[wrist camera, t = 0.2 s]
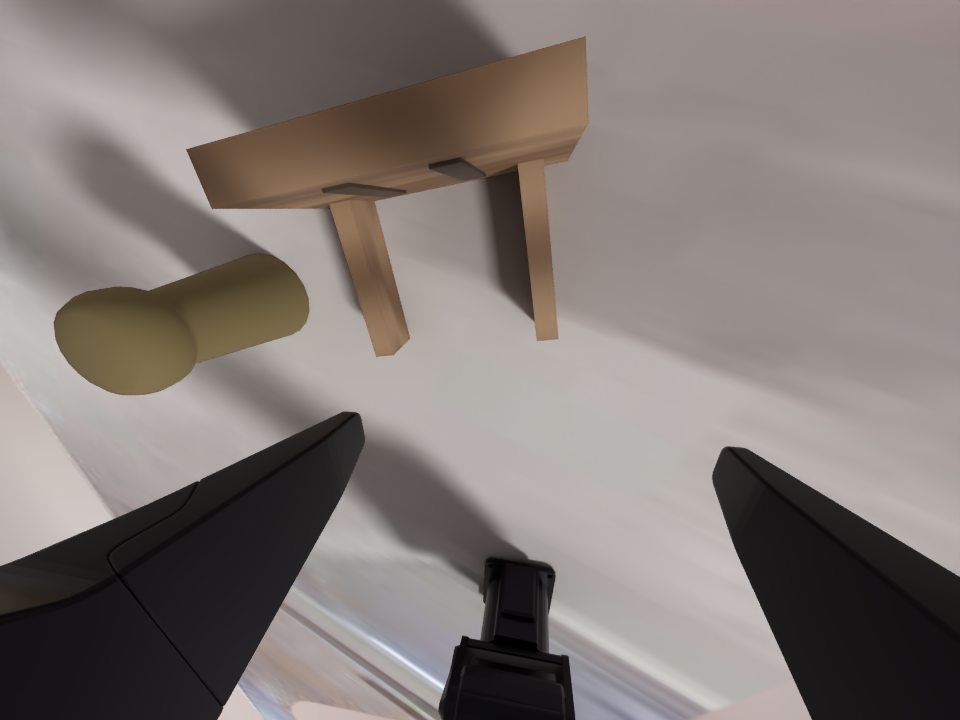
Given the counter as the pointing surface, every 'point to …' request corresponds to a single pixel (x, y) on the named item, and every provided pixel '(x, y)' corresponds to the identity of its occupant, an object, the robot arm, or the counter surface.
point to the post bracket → (414, 164)
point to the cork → (178, 323)
